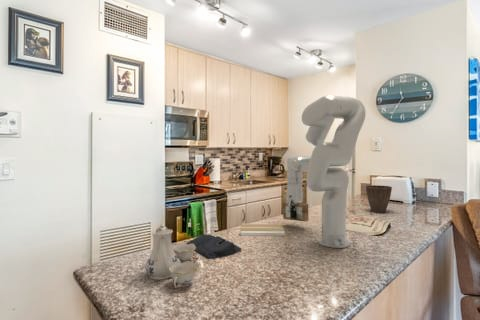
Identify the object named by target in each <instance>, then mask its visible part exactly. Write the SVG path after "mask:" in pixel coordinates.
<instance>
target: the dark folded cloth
mask: <svg viewBox="0 0 480 320" xmlns="http://www.w3.org/2000/svg"><path fill="white" fill-rule="evenodd" d="M185 244H194V245H195V247H196V249H195V250H194V253H196V254H198V255H200V256H202V257H203V258H205V259H206V260H217V259H219V258H223V257H224V258H225V257H229V256H232V255H235V254H237V253H239V252H241V251H242V248H241V247H240V246H237V244H234V242H232V241H229V240H227V239H225V238H223V237H222V236H219V235H218V236H214V235H212V234H205V233H204V234H201V235H199V236H196V237H195V238H194V239H192V240H189V241H187V242H185Z"/></svg>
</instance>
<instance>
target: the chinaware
mask: <svg viewBox="0 0 480 320" xmlns="http://www.w3.org/2000/svg"><path fill="white" fill-rule="evenodd" d="M173 232H174V231H173V229H171V228H170V229H169V228H168V227H167V226H166V225H165V224H164V222H161V223H160V224H159V227H157V228H156V230H152V231H151V234H152V239H153V240H152V241H153V243H152V249H151V251H150V256H149V257H148V259H147V261H146V262H145V264H144V267H143V268H144V270H145V271H146V272H147V273H148V277H149V278H150V279H152V280H156V281H157V280H167V279H170V278H172V280H173V286H174V288H175V289H177V288H185V287H188V286H190V283H191V282H192V281H193V279H194V278H195V277H196V272H197V270H198V269H199V266H200V265H199V264H198V263H194V262H193V261H191V260H190V259H191V258H193V255H194V253H195V251H194V250H195V249H196V247H195V245H194V244H186V242H181V243H179V244H177V245H173V244H172V242H173V241H172V235H173Z"/></svg>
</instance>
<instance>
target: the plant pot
mask: <svg viewBox="0 0 480 320" xmlns="http://www.w3.org/2000/svg"><path fill="white" fill-rule="evenodd" d="M392 189H393V187H392V186H390V185H389V186H388V185H376V184H375V185H374V184H373V185H372V184H371V185H365V192H366V193H365V194H366V197H367V200H368V205H369V207H370V210H371V212H372V213H375V212H376V214H384V213H386V211H387V208H388V206H389V203H390V201H391V200H390V199H391V196H392Z"/></svg>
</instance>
